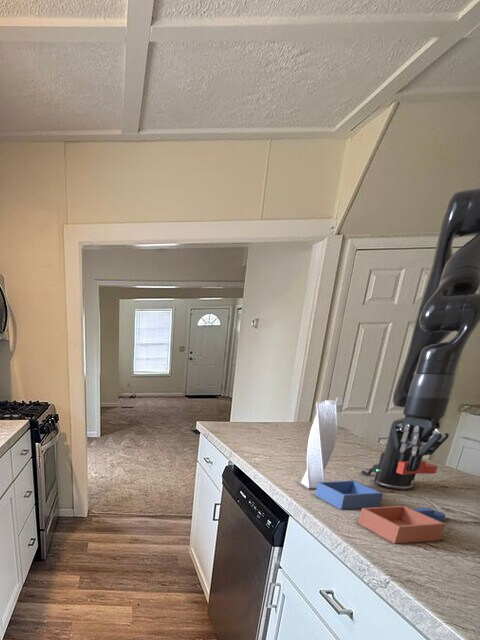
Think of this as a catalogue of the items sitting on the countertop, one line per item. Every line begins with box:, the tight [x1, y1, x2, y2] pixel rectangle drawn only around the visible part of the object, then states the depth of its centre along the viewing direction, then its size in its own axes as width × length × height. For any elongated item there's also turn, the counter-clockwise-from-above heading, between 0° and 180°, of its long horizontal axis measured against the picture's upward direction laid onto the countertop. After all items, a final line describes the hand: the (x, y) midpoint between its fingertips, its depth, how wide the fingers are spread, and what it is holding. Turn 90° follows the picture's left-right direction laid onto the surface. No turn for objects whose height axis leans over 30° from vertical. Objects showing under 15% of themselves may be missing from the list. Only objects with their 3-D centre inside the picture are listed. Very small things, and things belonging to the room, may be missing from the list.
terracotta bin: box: [357, 505, 447, 544], centre depth 95 cm, size 11×11×4 cm
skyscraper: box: [298, 395, 343, 490], centre depth 122 cm, size 8×8×28 cm
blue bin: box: [314, 480, 384, 510], centre depth 114 cm, size 11×11×4 cm
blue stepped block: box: [412, 507, 446, 522], centre depth 101 cm, size 9×4×3 cm, turn 97°
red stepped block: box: [396, 459, 439, 475], centre depth 96 cm, size 9×4×3 cm, turn 97°
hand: (407, 469), depth 96 cm, fingers closed on red stepped block, 2 cm apart
